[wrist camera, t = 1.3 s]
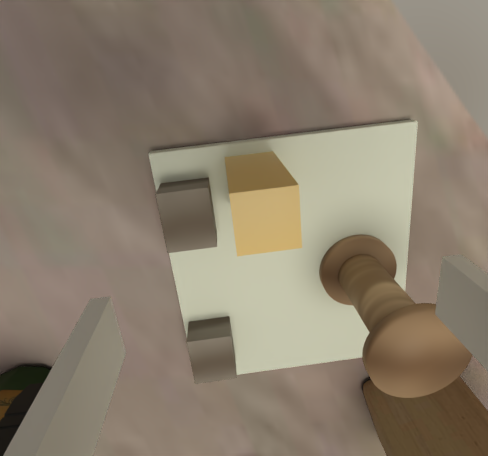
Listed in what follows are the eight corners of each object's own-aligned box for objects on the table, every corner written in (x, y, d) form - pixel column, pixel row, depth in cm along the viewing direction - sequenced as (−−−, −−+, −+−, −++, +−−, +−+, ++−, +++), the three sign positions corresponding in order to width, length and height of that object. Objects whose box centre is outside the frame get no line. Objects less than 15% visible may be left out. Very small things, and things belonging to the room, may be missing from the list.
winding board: (150, 151, 31) (148, 153, 29) (410, 119, 31) (417, 121, 30) (196, 372, 40) (195, 380, 39) (395, 344, 41) (400, 352, 39)
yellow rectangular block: (224, 157, 30) (228, 193, 21) (273, 151, 30) (298, 185, 21) (230, 203, 32) (237, 256, 22) (276, 197, 32) (302, 248, 22)
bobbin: (318, 239, 34) (369, 320, 22) (393, 229, 34) (481, 305, 23) (320, 303, 36) (366, 404, 25) (390, 294, 36) (466, 390, 25)
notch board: (160, 183, 30) (155, 194, 28) (208, 177, 31) (208, 187, 28) (196, 361, 38) (195, 383, 35) (235, 356, 38) (236, 378, 35)
